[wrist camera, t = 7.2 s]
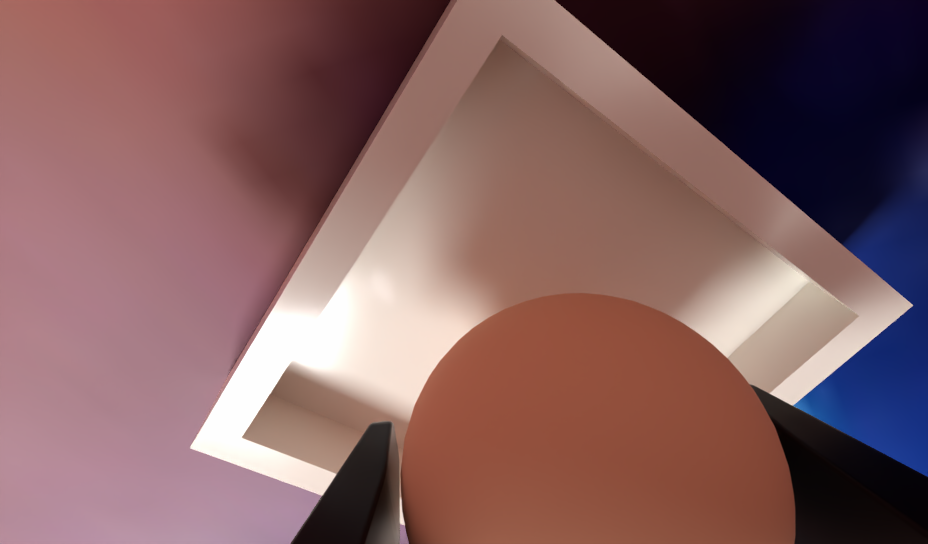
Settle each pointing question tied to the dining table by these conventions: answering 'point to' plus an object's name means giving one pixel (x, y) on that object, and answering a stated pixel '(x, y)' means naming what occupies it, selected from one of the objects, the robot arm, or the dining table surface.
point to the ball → (591, 435)
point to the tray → (528, 241)
